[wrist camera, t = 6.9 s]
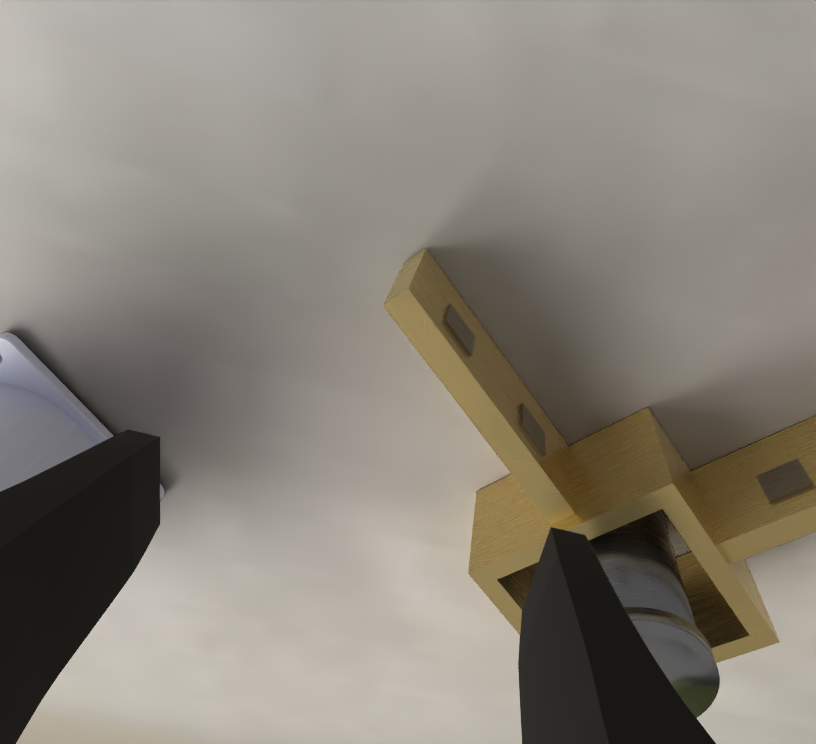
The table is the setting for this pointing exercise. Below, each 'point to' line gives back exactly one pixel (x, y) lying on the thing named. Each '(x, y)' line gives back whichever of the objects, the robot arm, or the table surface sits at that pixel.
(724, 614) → the gold square socket frame
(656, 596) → the pin
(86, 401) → the table surface
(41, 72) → the table surface
